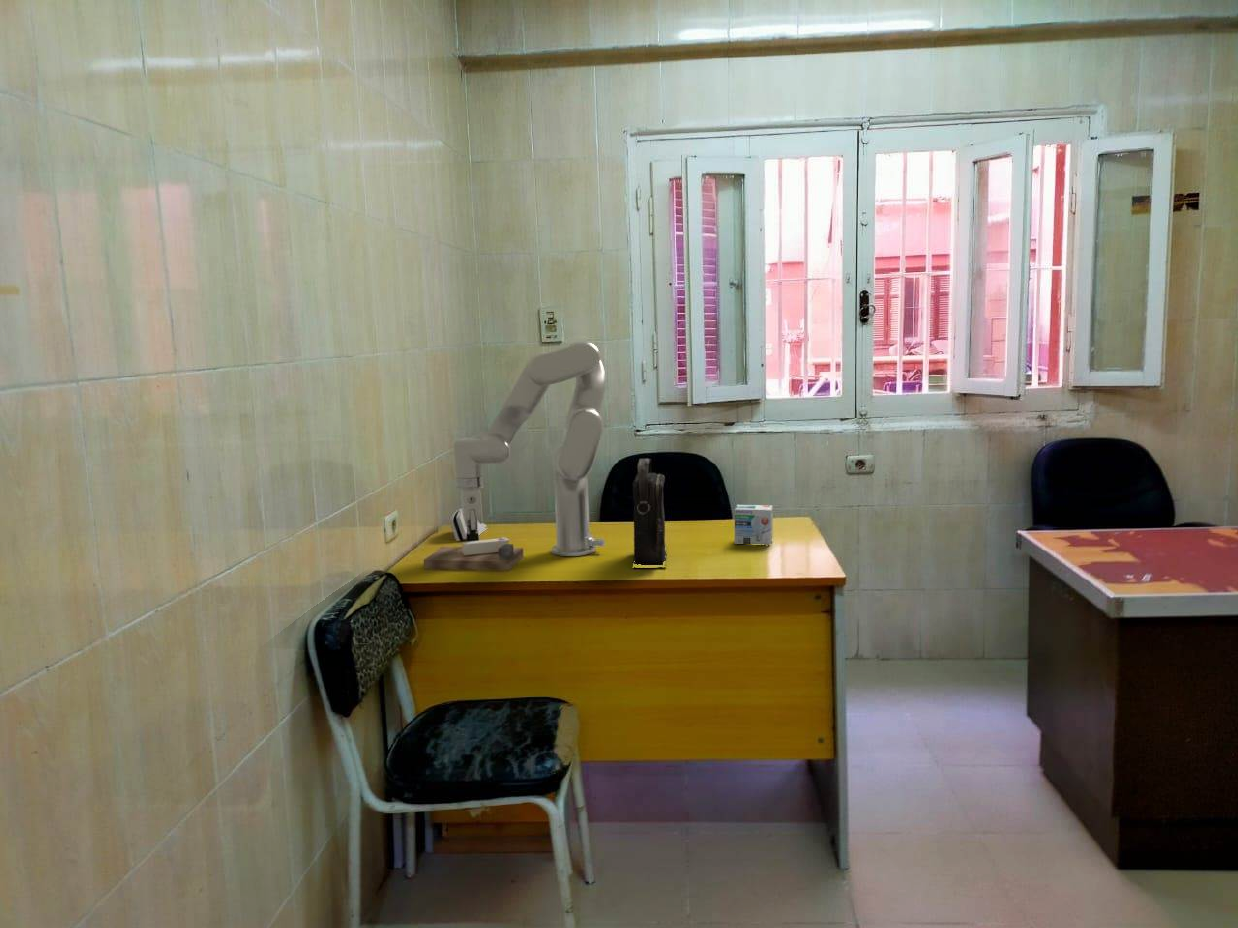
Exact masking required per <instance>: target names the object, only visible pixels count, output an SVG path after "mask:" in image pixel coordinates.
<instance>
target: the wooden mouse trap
mask: <svg viewBox="0 0 1238 928" xmlns="http://www.w3.org/2000/svg"><path fill="white" fill-rule="evenodd" d="M523 558H524V548H522V547H514V544H513V543H512V544H511V543H510V544H504V545H503V546H501V547H500V548H499V552H491V553H481V554H472V555H464V554H463V550H462V547H461V546H458V547H457V546H441V547H440V548H438V549H437V550H436V551H434V552H432V553H431V554H430V555H428V556H427V557H426V558H424V559H423V569H424V570H425V569H426V570H428V569H429V570H463V571H464V570H465V571H466V570H468V571H469V570H470V571H471V570H472V571H476V570H477V571H510V570H511V569H512V568H513V567H514V566H515V565H516V564H517V563H519V562H520V561H522V559H523Z"/></svg>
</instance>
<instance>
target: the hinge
mask: <svg viewBox="0 0 1238 928" xmlns="http://www.w3.org/2000/svg"><path fill="white" fill-rule="evenodd" d="M449 525H450V528H451V530H452V533H453V536H454V539H455V541H459V542H461V541H462V540H467V534H466V533H467V525H466V524H465V522H464V518H463V512H462V508H459V509H457V510H456V511H454V512H453V513H452V515H451V516H450V518H449ZM485 527H487V525H486V523H482V524H480V523H479V522H478V520H477V528H478V535H480V534H481V533H482V532H483V531H485V530H486V529H488V527H487V528H485ZM485 532H486V531H485ZM481 535H482V534H481ZM481 535H480V536H481Z"/></svg>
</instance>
